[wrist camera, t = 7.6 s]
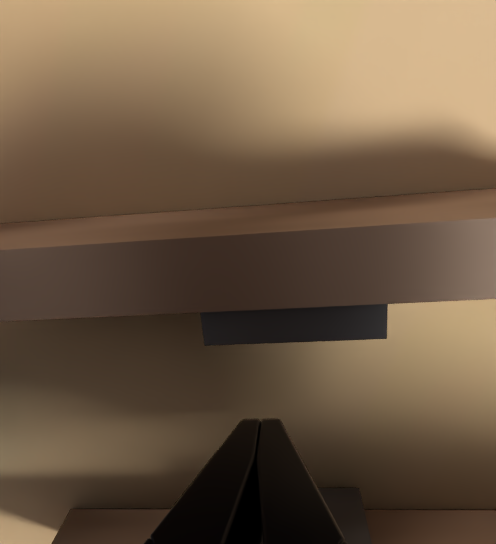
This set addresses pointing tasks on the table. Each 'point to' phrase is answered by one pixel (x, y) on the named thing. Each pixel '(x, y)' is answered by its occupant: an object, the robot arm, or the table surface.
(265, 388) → the table surface
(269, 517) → the robot arm
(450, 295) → the brown rails
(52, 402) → the table surface
